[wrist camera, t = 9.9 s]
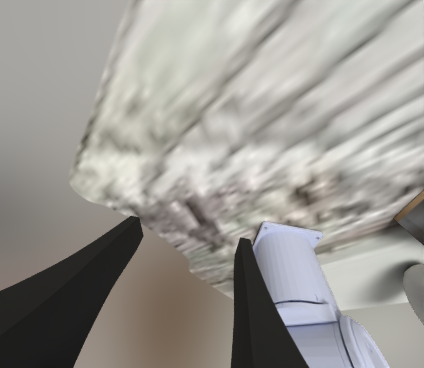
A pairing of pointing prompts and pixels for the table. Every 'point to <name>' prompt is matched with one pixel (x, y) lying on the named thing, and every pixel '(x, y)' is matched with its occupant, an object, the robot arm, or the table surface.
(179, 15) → the table surface
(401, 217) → the tray
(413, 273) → the donut
